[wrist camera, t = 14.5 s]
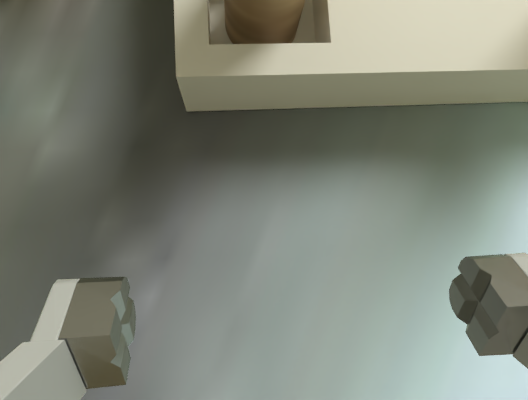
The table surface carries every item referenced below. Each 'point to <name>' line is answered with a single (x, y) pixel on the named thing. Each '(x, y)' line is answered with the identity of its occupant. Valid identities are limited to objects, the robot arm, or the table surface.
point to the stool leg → (262, 20)
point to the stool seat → (357, 56)
